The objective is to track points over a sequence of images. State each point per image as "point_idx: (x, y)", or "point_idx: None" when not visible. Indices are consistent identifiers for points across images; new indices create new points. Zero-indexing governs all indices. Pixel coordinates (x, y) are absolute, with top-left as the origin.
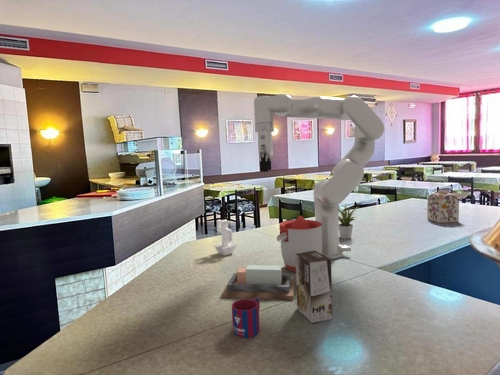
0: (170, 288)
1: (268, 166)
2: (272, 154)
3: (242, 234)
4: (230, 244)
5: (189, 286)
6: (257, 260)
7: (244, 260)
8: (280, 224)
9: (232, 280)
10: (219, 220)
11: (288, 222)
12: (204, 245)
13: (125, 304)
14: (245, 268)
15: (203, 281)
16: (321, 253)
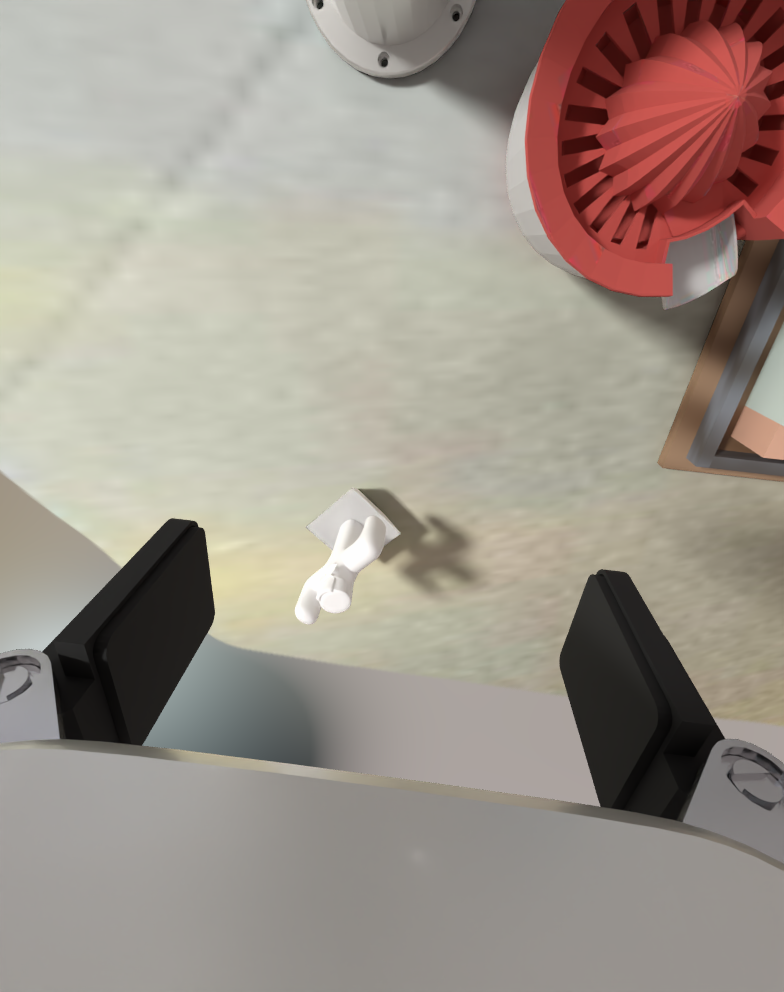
0: (674, 614)
1: (179, 594)
2: (274, 801)
3: (64, 472)
4: (339, 512)
5: (675, 573)
6: (455, 384)
7: (450, 436)
8: (646, 289)
9: (774, 465)
10: (307, 617)
11: (567, 223)
12: (257, 593)
13: (747, 679)
14: (781, 434)
15: (644, 544)
16: (445, 4)
